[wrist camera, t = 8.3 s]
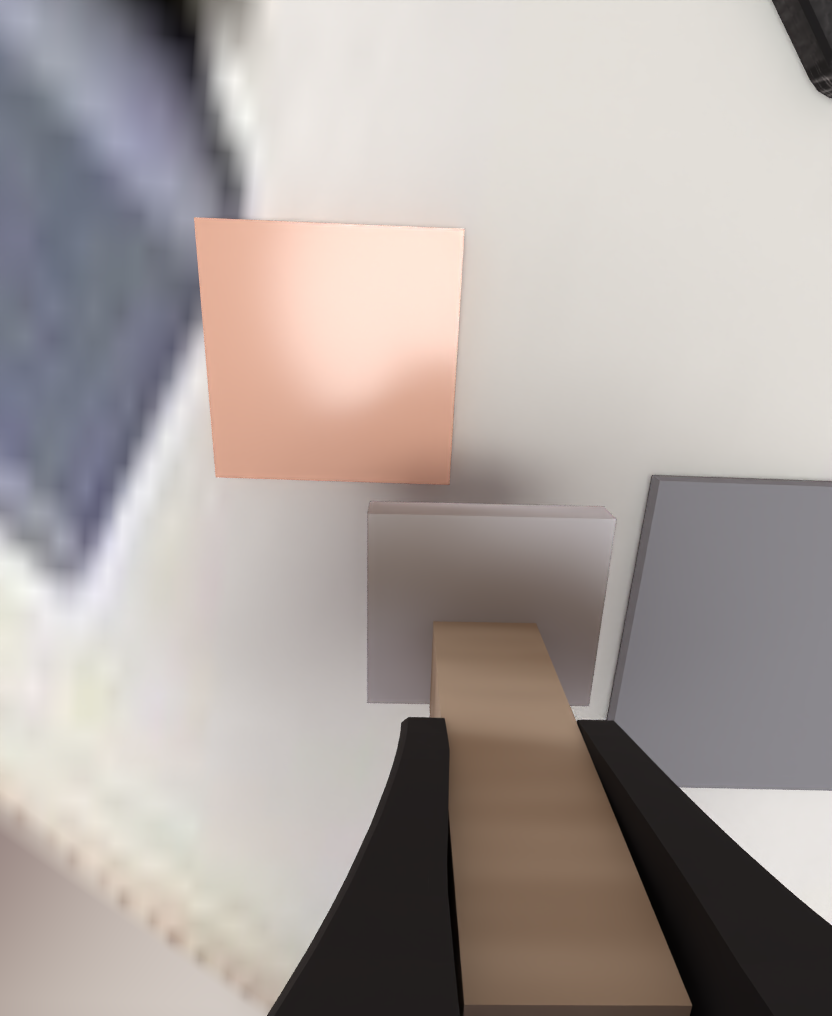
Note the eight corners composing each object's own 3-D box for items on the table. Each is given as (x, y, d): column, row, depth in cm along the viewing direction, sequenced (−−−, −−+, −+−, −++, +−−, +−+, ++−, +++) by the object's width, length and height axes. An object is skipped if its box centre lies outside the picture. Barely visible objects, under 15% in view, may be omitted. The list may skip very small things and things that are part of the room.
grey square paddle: (578, 688, 14) (782, 1140, 6) (369, 685, 14) (323, 1141, 6) (603, 506, 12) (911, 813, 5) (370, 500, 12) (309, 807, 5)
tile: (449, 484, 17) (464, 228, 15) (215, 477, 17) (194, 217, 15) (446, 472, 19) (460, 234, 16) (228, 465, 19) (210, 223, 16)
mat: (850, 778, 23) (861, 791, 22) (597, 773, 22) (602, 785, 22) (960, 485, 19) (977, 491, 18) (652, 475, 18) (660, 480, 18)
